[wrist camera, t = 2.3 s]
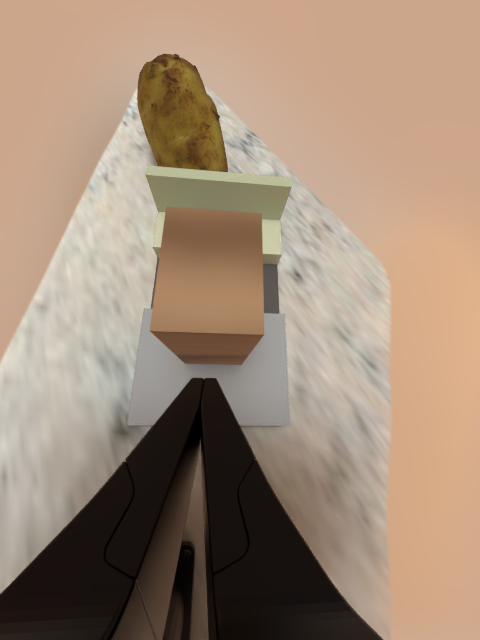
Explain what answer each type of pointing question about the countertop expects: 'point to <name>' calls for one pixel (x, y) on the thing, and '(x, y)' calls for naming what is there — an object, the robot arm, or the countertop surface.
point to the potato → (180, 116)
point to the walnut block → (210, 285)
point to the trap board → (270, 353)
